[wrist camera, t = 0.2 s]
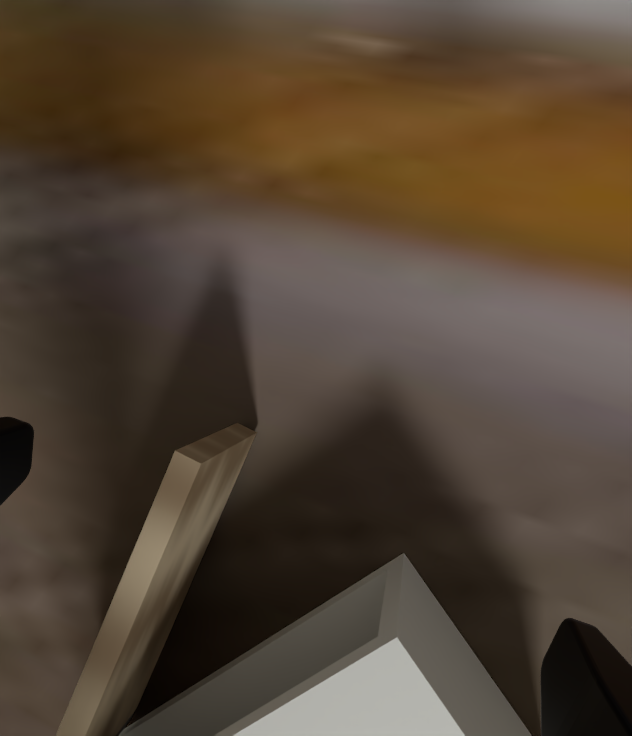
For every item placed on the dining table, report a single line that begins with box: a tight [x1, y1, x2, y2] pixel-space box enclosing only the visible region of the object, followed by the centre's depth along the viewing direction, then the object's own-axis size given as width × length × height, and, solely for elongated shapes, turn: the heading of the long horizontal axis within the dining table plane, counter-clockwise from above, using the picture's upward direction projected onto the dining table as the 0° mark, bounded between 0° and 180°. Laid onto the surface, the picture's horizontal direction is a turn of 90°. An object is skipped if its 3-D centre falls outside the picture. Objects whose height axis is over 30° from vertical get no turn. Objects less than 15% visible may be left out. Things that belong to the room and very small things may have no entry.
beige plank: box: [56, 423, 257, 736], centre depth 23 cm, size 16×1×6 cm, turn 156°
